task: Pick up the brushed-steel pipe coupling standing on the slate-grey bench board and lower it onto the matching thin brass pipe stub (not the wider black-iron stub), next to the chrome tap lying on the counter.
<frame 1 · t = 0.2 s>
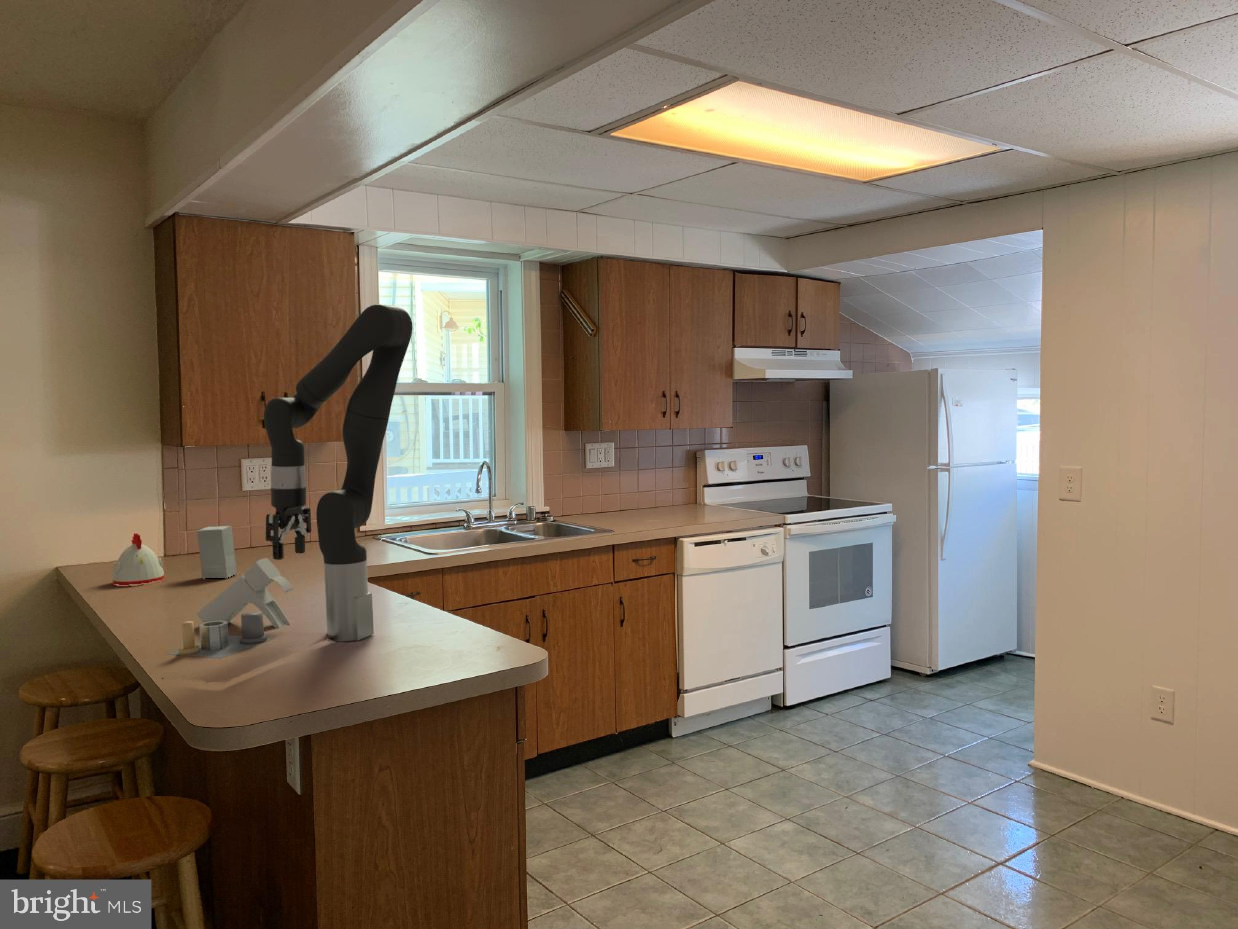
hand: (289, 556, 208), 18 cm above the counter, tool pointing down, fingers open, 8 cm apart
coupling: (214, 646, 195), point 1 cm above the counter, touching bench board
chicken hat: (139, 583, 278), on the counter
bench board: (222, 651, 195), on the counter
faucet: (247, 631, 214), on the counter
skincare box: (218, 578, 282), on the counter
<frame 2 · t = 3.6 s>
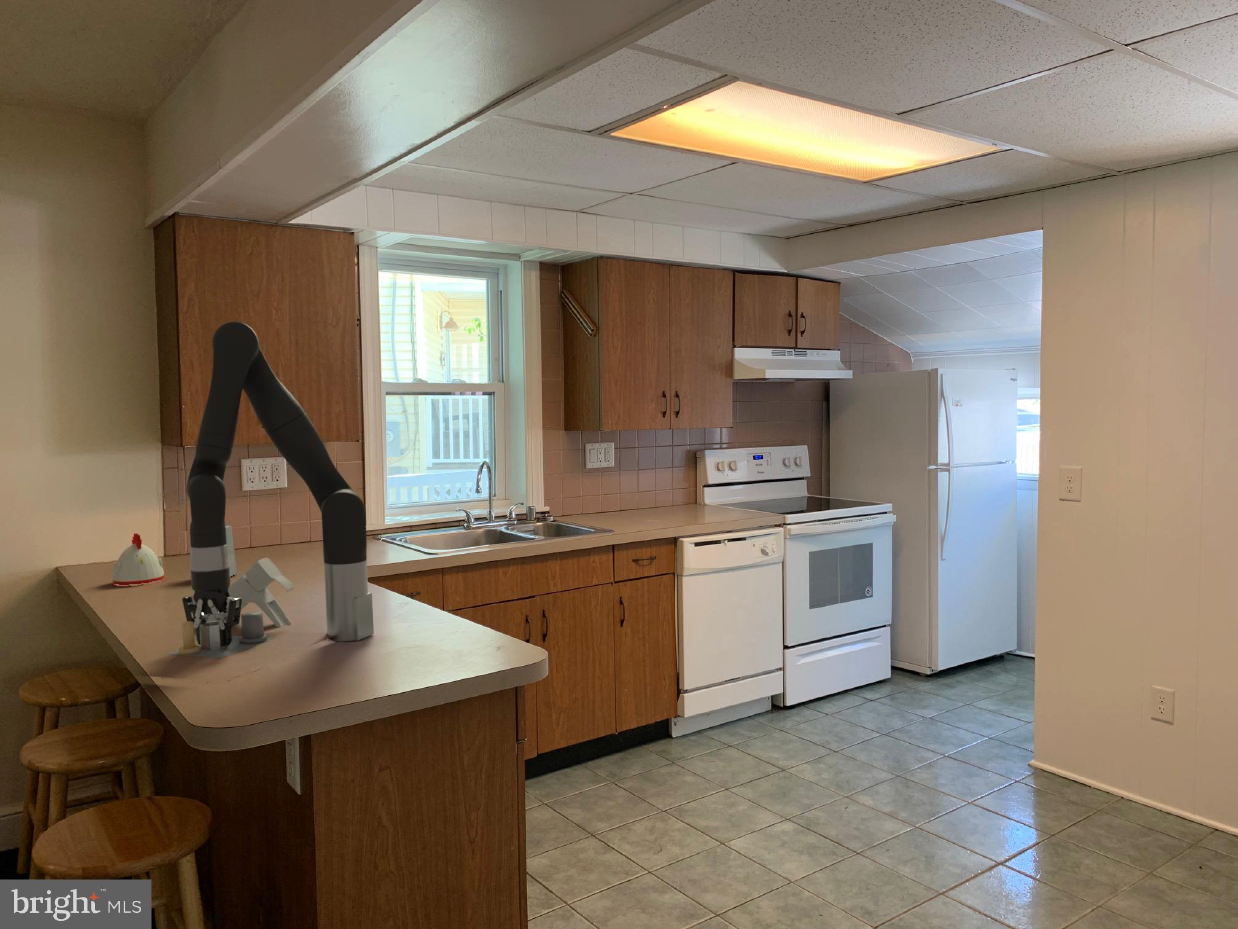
hand: (214, 644, 195), 2 cm above the counter, tool pointing down, fingers closed on coupling, 5 cm apart
coupling: (214, 646, 195), point 1 cm above the counter, touching bench board, gripper
everything else where it was.
when the fingers open (4 cm above the counter, at t = 7.9 s): coupling drops 1 cm, resting on bench board.
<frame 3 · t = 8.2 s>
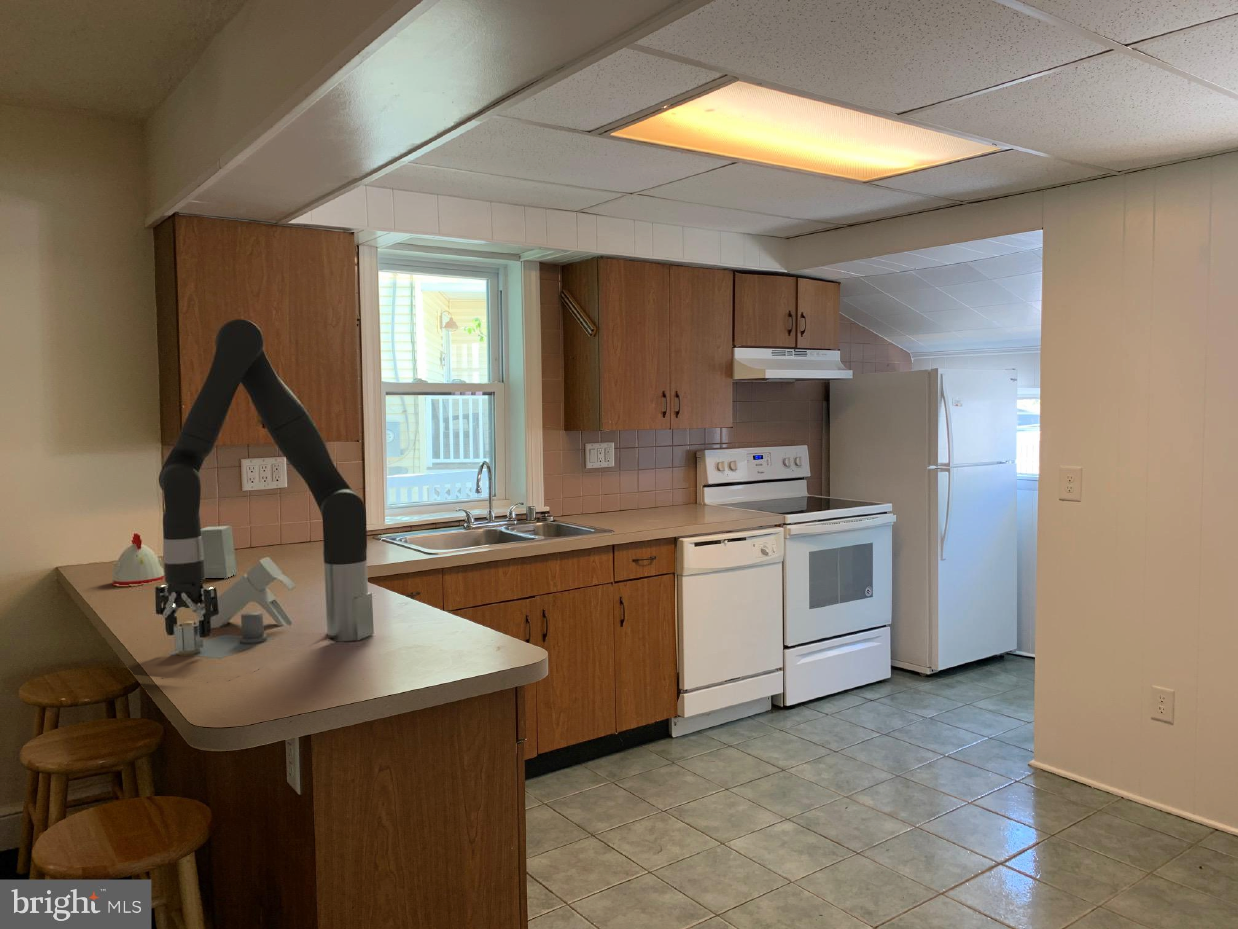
hand: (188, 635, 190), 5 cm above the counter, tool pointing down, fingers open, 8 cm apart
coupling: (189, 647, 191), point 2 cm above the counter, touching bench board
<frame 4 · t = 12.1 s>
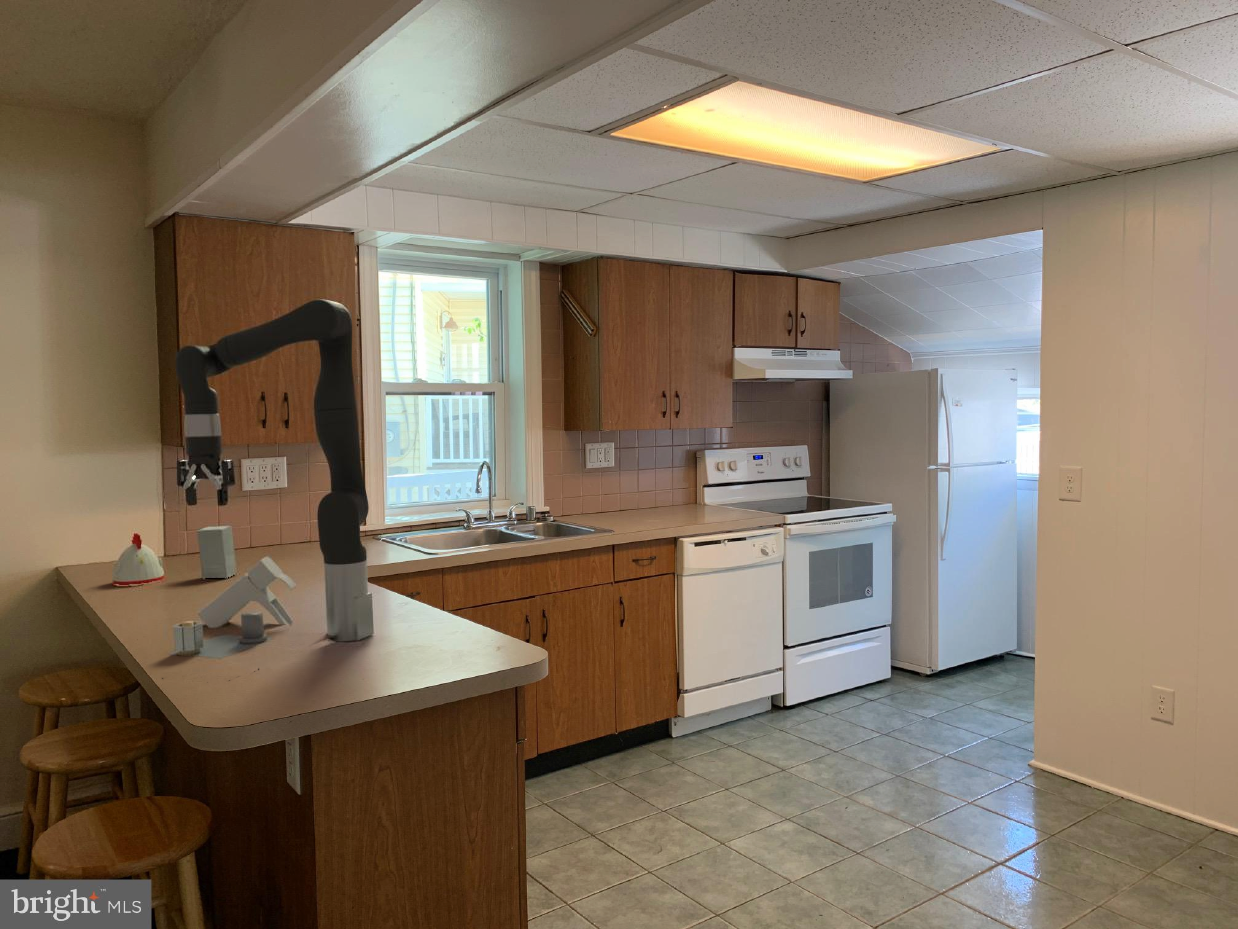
hand: (207, 505, 208), 30 cm above the counter, tool pointing down, fingers open, 8 cm apart
at the end: coupling 0.0 cm from the target spot on the bench board, point 2.2 cm above the bench board's base; coupling tilted 0°; the gripper is holding nothing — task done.
